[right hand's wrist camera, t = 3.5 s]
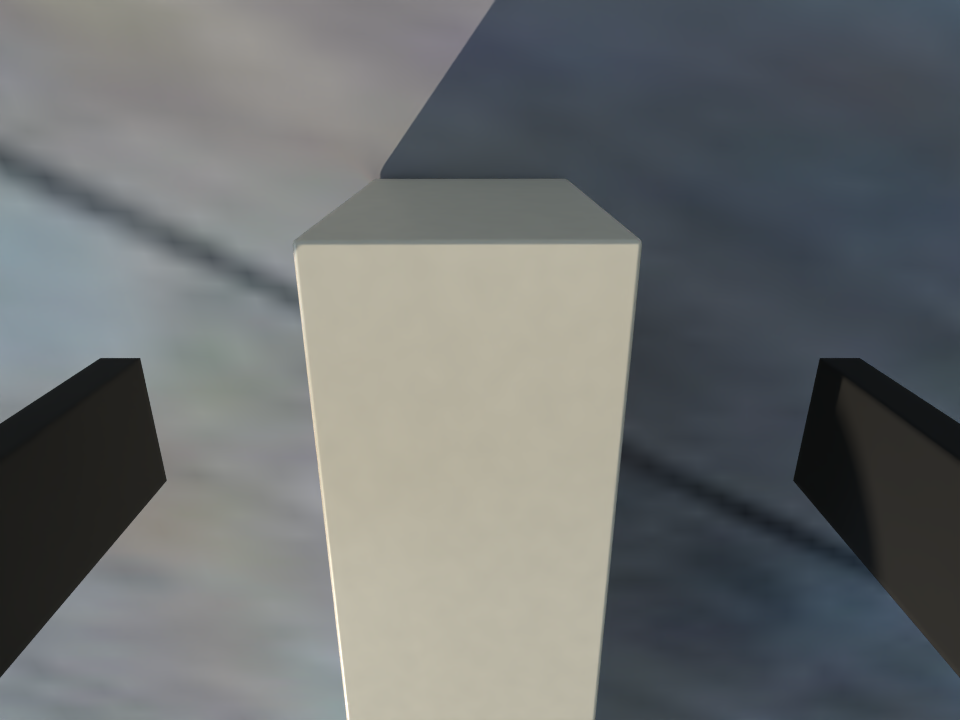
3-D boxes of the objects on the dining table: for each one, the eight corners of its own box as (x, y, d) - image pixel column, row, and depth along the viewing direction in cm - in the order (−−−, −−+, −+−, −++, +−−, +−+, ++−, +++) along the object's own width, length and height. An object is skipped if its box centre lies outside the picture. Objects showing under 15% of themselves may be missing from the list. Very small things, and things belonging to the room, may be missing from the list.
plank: (373, 178, 14) (291, 239, 8) (567, 178, 14) (643, 239, 8) (414, 838, 24) (391, 1117, 17) (534, 837, 24) (556, 1115, 17)
